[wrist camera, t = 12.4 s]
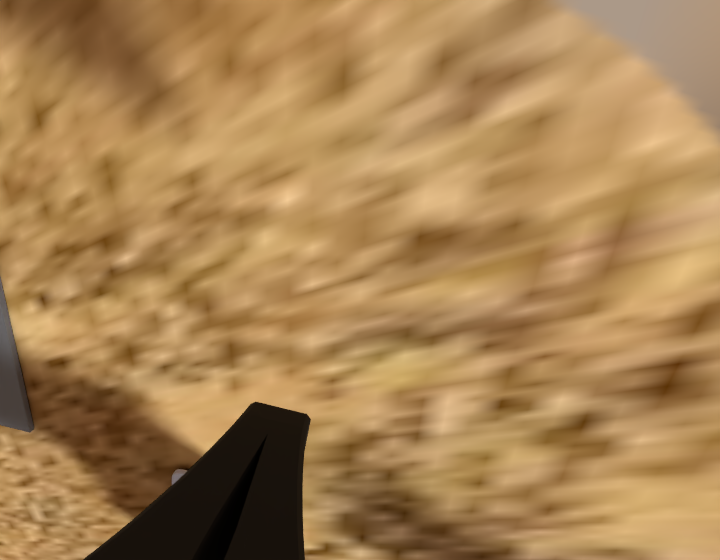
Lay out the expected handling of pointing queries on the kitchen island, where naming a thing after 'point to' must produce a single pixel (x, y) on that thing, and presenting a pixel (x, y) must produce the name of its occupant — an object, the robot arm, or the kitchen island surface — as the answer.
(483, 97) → the kitchen island surface
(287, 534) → the robot arm
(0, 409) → the mat
